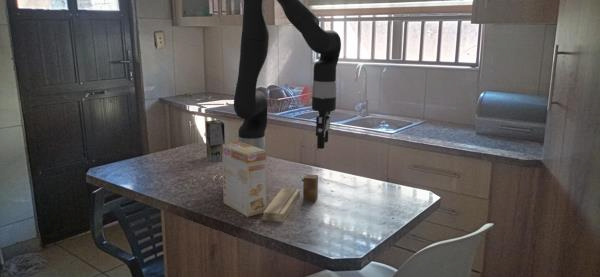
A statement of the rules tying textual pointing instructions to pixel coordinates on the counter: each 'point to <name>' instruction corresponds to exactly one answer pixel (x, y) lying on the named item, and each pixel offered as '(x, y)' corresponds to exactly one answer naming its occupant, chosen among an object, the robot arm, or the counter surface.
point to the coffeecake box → (244, 178)
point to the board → (281, 205)
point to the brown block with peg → (310, 188)
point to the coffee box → (214, 139)
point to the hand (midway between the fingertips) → (322, 145)
